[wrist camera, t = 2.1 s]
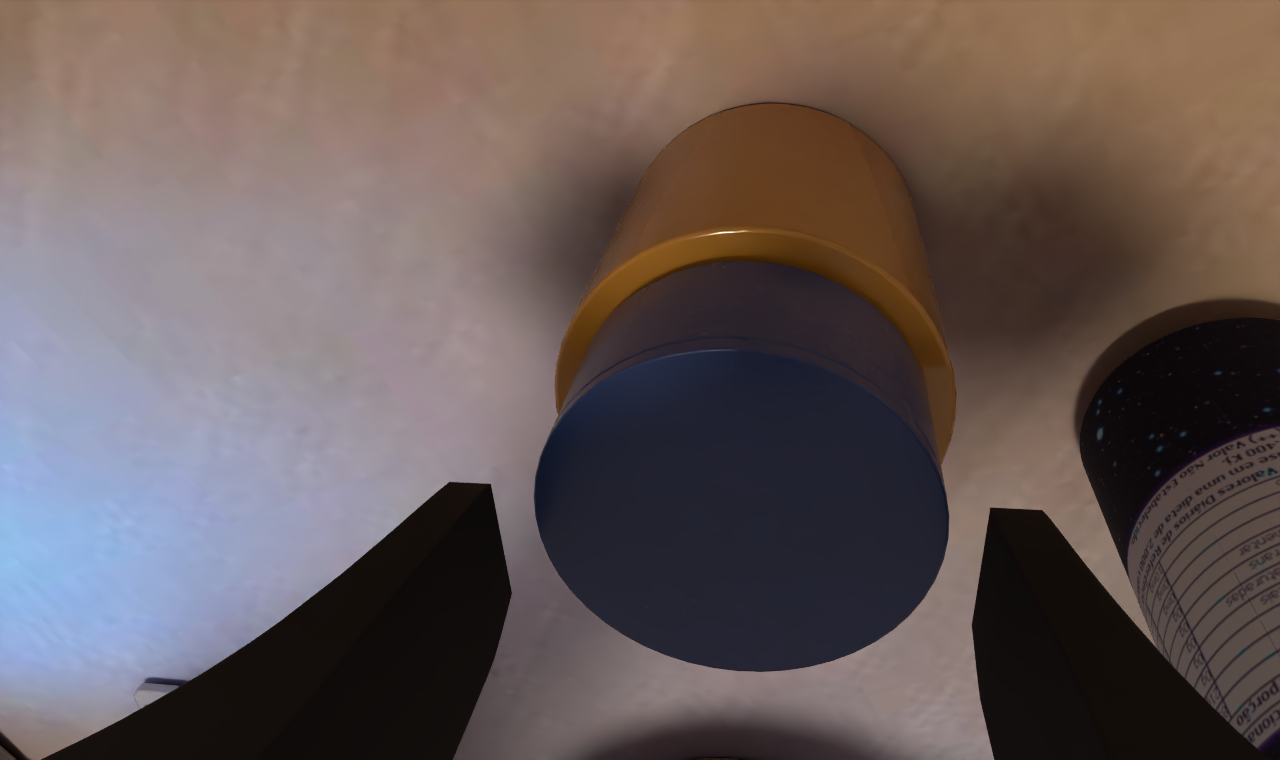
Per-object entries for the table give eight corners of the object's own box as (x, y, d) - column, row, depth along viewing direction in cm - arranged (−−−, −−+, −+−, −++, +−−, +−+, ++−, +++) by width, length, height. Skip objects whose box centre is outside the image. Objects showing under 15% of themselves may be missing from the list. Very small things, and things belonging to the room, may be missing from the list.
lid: (913, 567, 16) (929, 691, 14) (593, 548, 17) (558, 660, 15) (946, 260, 13) (973, 353, 11) (557, 259, 14) (505, 344, 12)
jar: (906, 375, 22) (952, 689, 14) (637, 368, 23) (541, 655, 15) (930, 98, 19) (1011, 305, 11) (615, 107, 20) (477, 299, 12)
